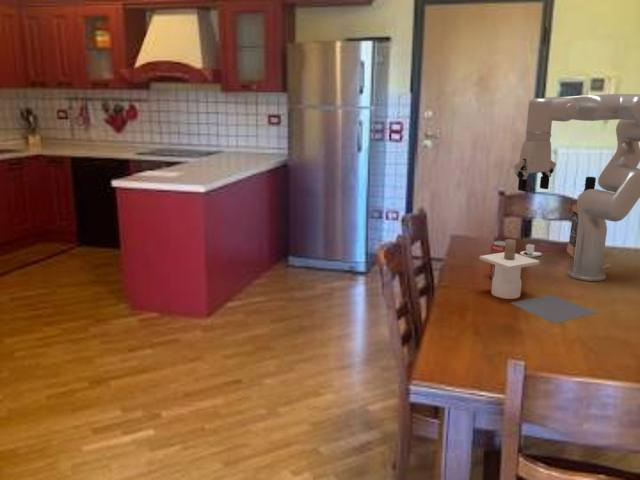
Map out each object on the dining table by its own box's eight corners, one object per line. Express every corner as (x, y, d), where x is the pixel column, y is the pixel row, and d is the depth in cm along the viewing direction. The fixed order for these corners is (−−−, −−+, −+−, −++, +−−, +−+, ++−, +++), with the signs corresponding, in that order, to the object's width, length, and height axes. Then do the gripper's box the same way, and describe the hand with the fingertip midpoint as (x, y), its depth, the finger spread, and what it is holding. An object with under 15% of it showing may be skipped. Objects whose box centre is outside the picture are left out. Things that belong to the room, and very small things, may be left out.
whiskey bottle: (566, 251, 248) (574, 174, 240) (590, 252, 247) (600, 175, 239) (572, 257, 238) (581, 178, 230) (598, 259, 237) (608, 179, 229)
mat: (551, 297, 193) (551, 294, 193) (598, 316, 177) (598, 312, 177) (509, 306, 185) (509, 303, 185) (554, 326, 170) (554, 322, 169)
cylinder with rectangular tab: (505, 303, 188) (508, 267, 185) (485, 294, 195) (487, 259, 193) (526, 299, 192) (529, 263, 189) (505, 290, 200) (508, 256, 197)
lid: (509, 254, 199) (510, 233, 197) (539, 264, 188) (541, 242, 186) (479, 259, 193) (480, 238, 192) (508, 269, 182) (510, 247, 180)
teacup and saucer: (543, 258, 239) (544, 248, 238) (524, 258, 240) (524, 248, 238) (536, 252, 248) (537, 242, 247) (517, 252, 248) (518, 242, 247)
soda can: (510, 281, 209) (514, 246, 205) (489, 280, 210) (492, 244, 207) (508, 275, 215) (511, 241, 212) (488, 274, 217) (490, 240, 213)
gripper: (548, 135, 199) (543, 186, 203) (509, 137, 192) (505, 189, 196) (566, 137, 193) (561, 189, 197) (526, 139, 185) (521, 193, 190)
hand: (533, 189), depth 197 cm, fingers open, 9 cm apart
